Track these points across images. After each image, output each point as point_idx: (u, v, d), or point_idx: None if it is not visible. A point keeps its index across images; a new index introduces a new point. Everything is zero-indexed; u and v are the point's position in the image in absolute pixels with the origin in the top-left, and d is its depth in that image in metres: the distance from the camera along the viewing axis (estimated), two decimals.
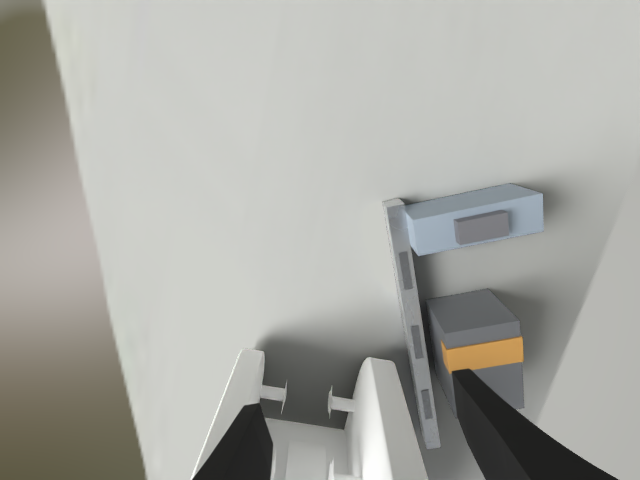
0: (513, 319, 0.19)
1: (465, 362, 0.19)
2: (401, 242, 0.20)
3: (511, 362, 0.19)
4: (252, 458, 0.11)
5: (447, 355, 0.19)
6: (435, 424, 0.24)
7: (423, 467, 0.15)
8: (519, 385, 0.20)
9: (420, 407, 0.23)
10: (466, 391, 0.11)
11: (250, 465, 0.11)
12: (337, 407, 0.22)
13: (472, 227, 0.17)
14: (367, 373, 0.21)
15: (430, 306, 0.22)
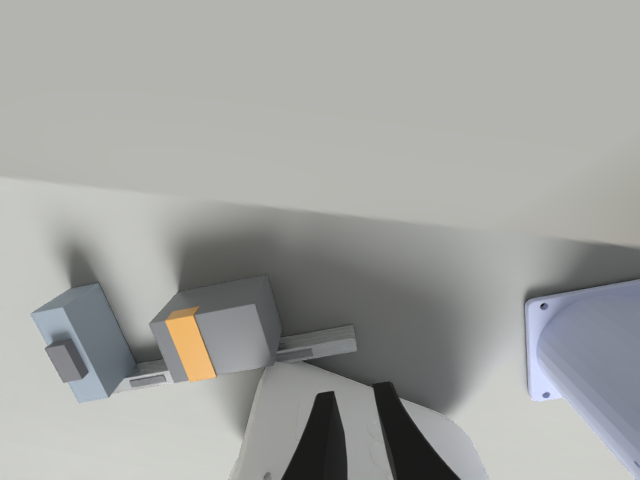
0: (152, 325, 0.19)
1: (203, 363, 0.19)
2: (122, 385, 0.23)
3: (196, 325, 0.19)
4: (336, 445, 0.11)
5: (196, 379, 0.20)
6: (321, 345, 0.22)
7: (239, 470, 0.15)
8: (225, 312, 0.18)
9: (299, 359, 0.22)
10: (377, 405, 0.11)
11: (336, 452, 0.11)
12: None
13: (64, 372, 0.20)
14: None
15: None
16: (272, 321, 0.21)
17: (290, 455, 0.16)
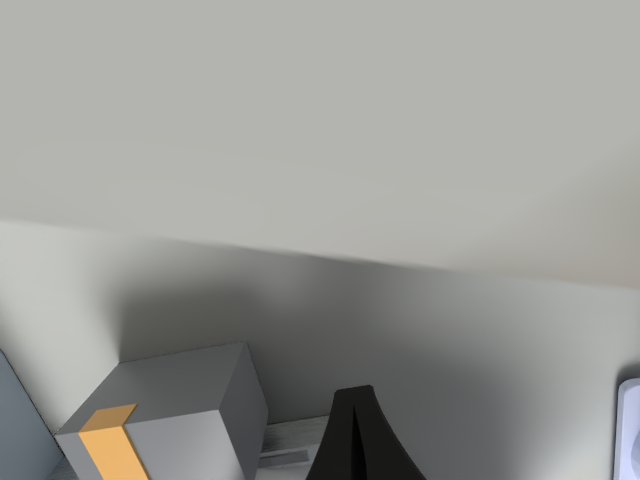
0: (61, 435, 0.12)
1: None
2: None
3: (127, 439, 0.12)
4: (358, 442, 0.11)
5: None
6: None
7: None
8: (172, 421, 0.12)
9: (289, 464, 0.15)
10: (355, 409, 0.11)
11: (358, 449, 0.11)
12: None
13: None
14: None
15: None
16: (252, 415, 0.14)
17: None
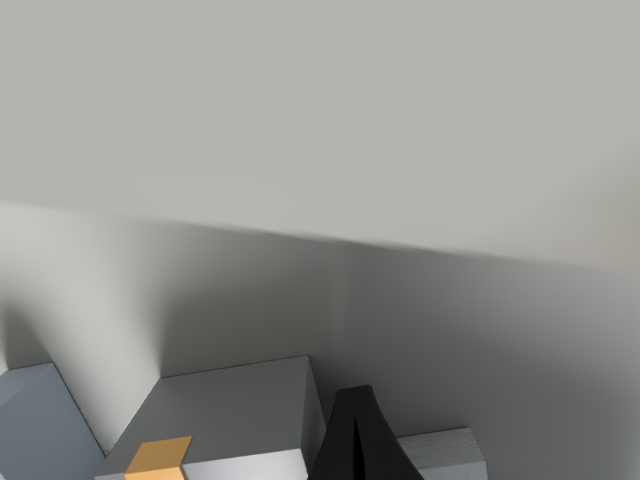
0: (101, 475, 0.10)
1: None
2: None
3: None
4: (360, 442, 0.11)
5: None
6: (427, 471, 0.13)
7: None
8: (241, 462, 0.09)
9: None
10: (354, 409, 0.11)
11: (360, 448, 0.11)
12: None
13: None
14: None
15: None
16: (319, 446, 0.12)
17: None
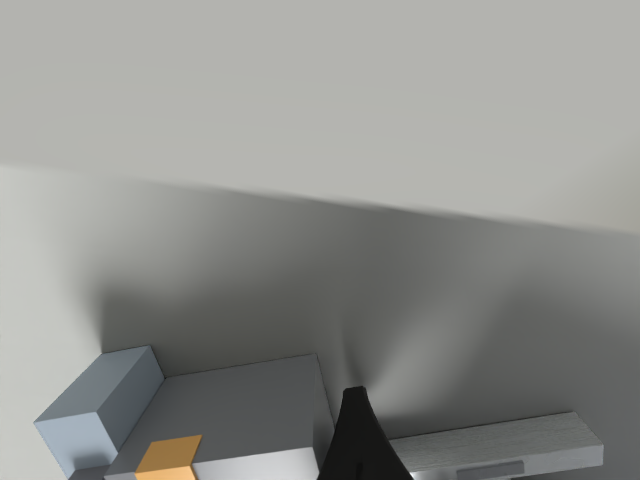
0: (111, 474, 0.10)
1: None
2: None
3: None
4: None
5: None
6: (541, 456, 0.12)
7: None
8: (253, 460, 0.09)
9: (496, 477, 0.13)
10: (347, 410, 0.11)
11: None
12: None
13: None
14: None
15: None
16: (328, 444, 0.12)
17: None
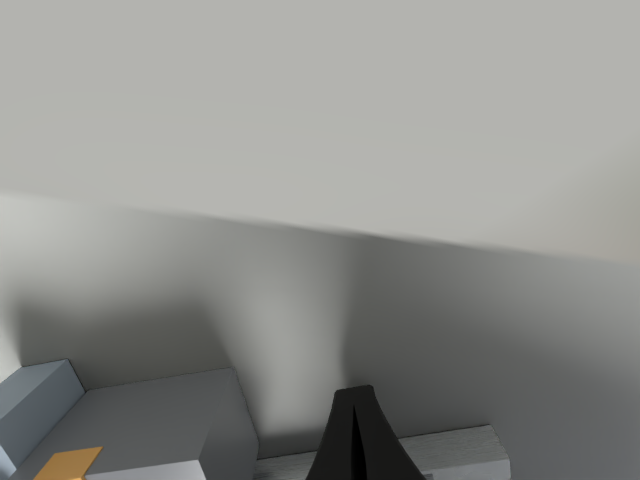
0: None
1: None
2: None
3: None
4: (358, 442, 0.11)
5: None
6: (450, 470, 0.13)
7: None
8: (142, 472, 0.10)
9: None
10: (355, 409, 0.11)
11: (358, 448, 0.11)
12: None
13: None
14: None
15: None
16: (239, 454, 0.12)
17: None
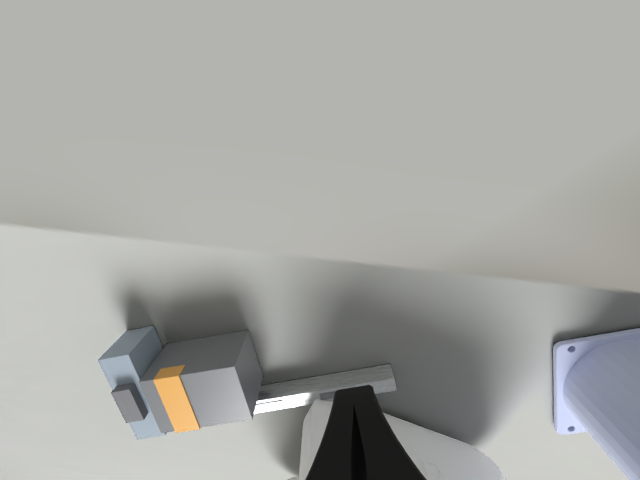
0: (141, 382, 0.21)
1: (188, 416, 0.21)
2: None
3: (181, 384, 0.20)
4: (358, 442, 0.11)
5: (181, 430, 0.22)
6: (363, 385, 0.23)
7: None
8: (207, 373, 0.20)
9: None
10: (355, 409, 0.11)
11: (358, 448, 0.11)
12: None
13: (127, 413, 0.21)
14: None
15: None
16: (252, 375, 0.23)
17: None
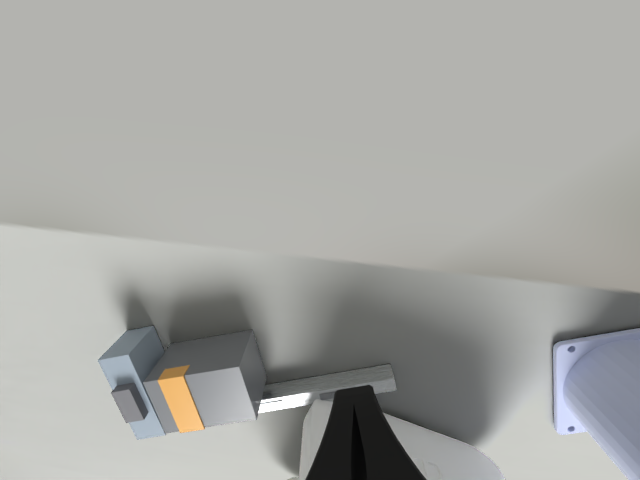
0: (145, 382, 0.21)
1: (192, 416, 0.21)
2: None
3: (186, 384, 0.20)
4: (358, 442, 0.11)
5: (186, 430, 0.22)
6: (363, 385, 0.23)
7: None
8: (212, 373, 0.20)
9: None
10: (355, 409, 0.11)
11: (358, 448, 0.11)
12: None
13: (127, 413, 0.21)
14: None
15: None
16: (256, 375, 0.23)
17: None
